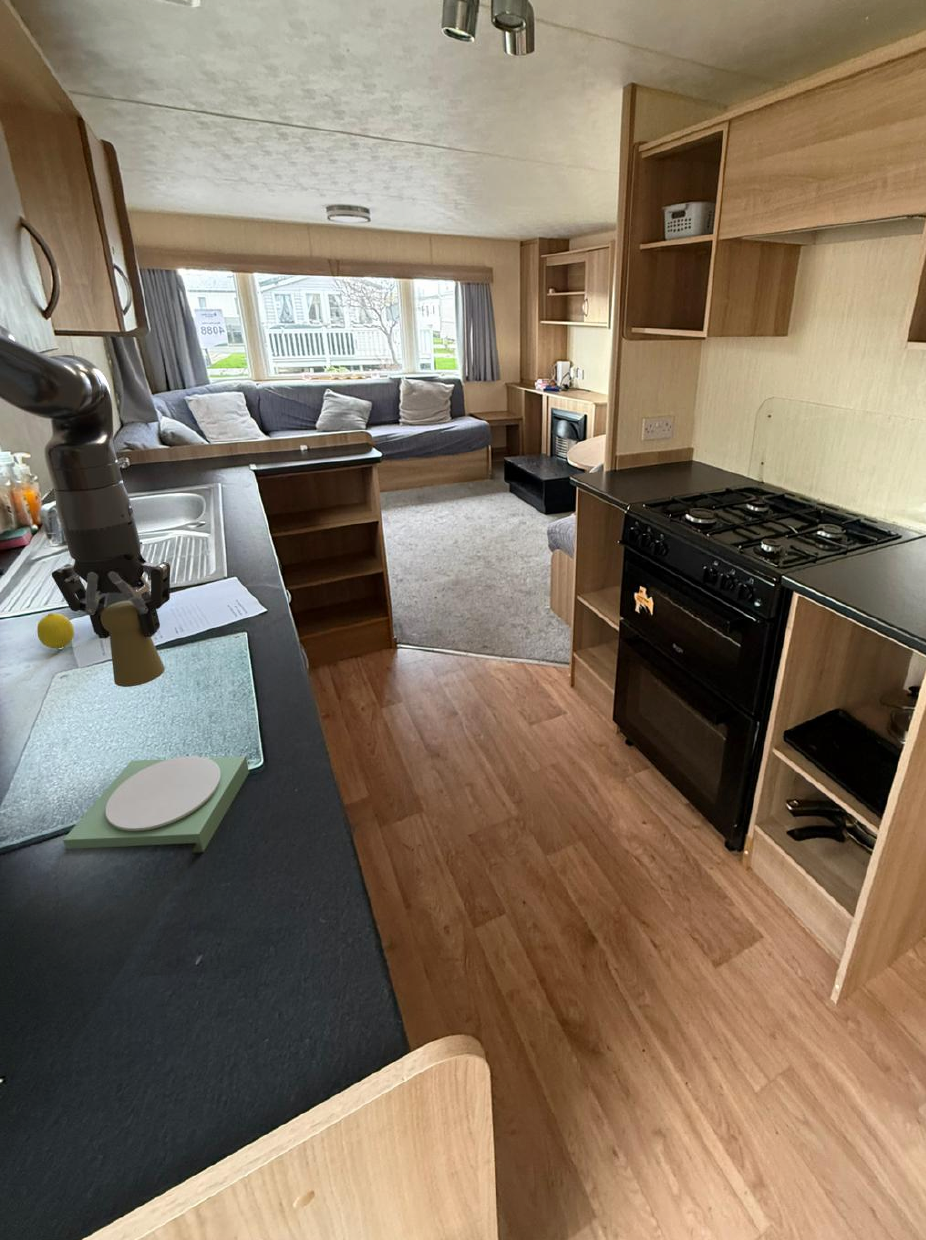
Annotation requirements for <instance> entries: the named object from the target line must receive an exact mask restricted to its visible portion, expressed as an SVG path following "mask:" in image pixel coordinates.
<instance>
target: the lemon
mask: <svg viewBox="0 0 926 1240" xmlns="http://www.w3.org/2000/svg"><path fill="white" fill-rule="evenodd" d="M36 630H37V631H36V633H37V637H38V639H39V641H40V643H41V644H42V645H44V646H45V647H47V648H50V649H57V648H62V647H64V646H65V647H66V646H67V645H69V644H70V643H71V642H72V641H73V639H74V635H75V628H74V626H73V623H72V622H71V620H70V619H69V618H68V617H67V616H66V615H64V614H61V613H53V612H50V613H48V614H47V615H46V616H44V617H42V618H41V620H40V621H38V624H37V629H36ZM65 647H64V648H65Z"/></svg>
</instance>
